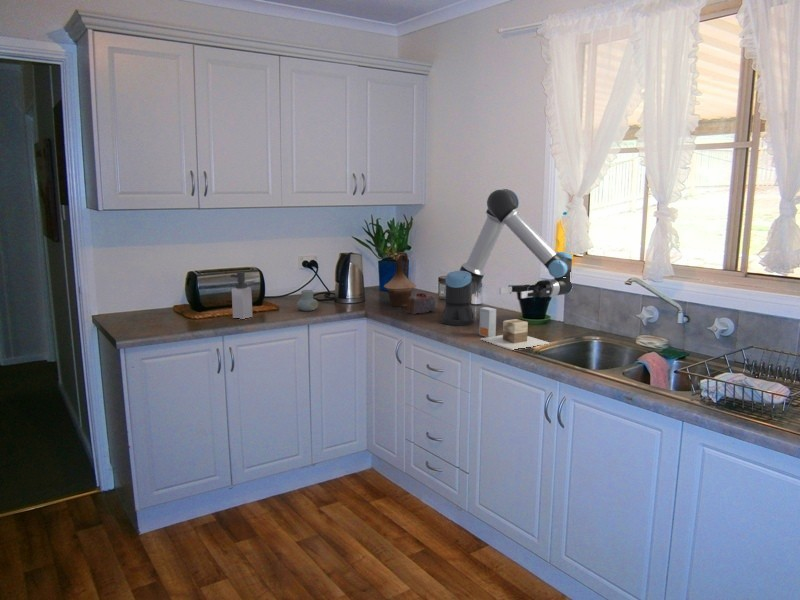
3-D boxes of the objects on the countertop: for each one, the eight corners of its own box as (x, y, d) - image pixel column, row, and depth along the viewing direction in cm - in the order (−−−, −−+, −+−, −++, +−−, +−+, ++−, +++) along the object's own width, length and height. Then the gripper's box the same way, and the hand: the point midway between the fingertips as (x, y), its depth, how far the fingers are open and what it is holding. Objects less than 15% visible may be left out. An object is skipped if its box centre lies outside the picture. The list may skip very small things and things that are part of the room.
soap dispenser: (238, 315, 312) (236, 270, 308) (252, 317, 308) (250, 272, 304) (229, 318, 306) (227, 272, 302) (243, 319, 302) (241, 273, 298)
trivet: (480, 339, 266) (480, 338, 266) (516, 334, 276) (516, 332, 276) (512, 350, 249) (512, 349, 249) (550, 344, 259) (550, 342, 259)
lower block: (502, 339, 263) (502, 330, 263) (515, 337, 267) (515, 328, 266) (514, 343, 258) (514, 333, 257) (527, 341, 261) (527, 331, 260)
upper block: (502, 330, 263) (503, 320, 262) (515, 328, 266) (516, 319, 266) (514, 333, 257) (514, 324, 256) (527, 331, 260) (527, 322, 260)
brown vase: (393, 300, 352) (393, 250, 346) (421, 303, 344) (422, 251, 339) (378, 306, 336) (378, 253, 331) (407, 309, 329) (407, 255, 323)
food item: (426, 309, 328) (426, 290, 327) (436, 312, 322) (436, 292, 320) (405, 312, 320) (405, 293, 318) (415, 315, 314) (415, 295, 312)
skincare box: (478, 335, 274) (479, 307, 272) (486, 333, 276) (487, 306, 274) (488, 338, 269) (489, 310, 267) (496, 336, 271) (496, 309, 269)
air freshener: (307, 307, 332) (306, 288, 330) (320, 309, 328) (320, 289, 327) (294, 311, 323) (294, 291, 321) (307, 312, 319) (307, 293, 317)
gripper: (567, 300, 276) (530, 305, 265) (527, 292, 297) (491, 297, 286) (567, 283, 275) (530, 288, 264) (527, 276, 295) (491, 280, 285)
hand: (510, 292), depth 275 cm, fingers open, 13 cm apart
